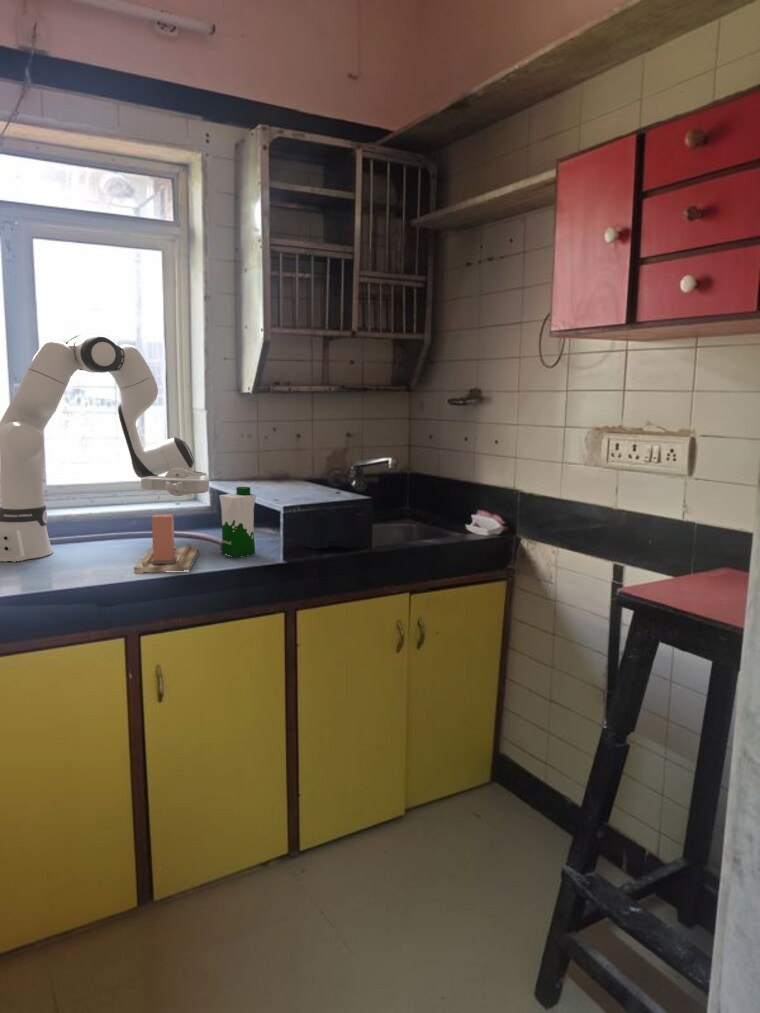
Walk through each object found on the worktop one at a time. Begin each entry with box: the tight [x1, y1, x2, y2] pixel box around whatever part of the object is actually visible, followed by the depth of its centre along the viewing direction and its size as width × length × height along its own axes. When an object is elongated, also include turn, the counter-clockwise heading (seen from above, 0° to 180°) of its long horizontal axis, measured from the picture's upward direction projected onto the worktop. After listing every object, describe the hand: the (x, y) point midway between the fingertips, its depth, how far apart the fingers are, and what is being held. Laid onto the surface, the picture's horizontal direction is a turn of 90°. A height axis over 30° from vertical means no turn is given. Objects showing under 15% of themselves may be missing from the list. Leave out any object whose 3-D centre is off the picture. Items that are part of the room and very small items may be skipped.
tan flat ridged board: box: [133, 543, 199, 574], centre depth 199 cm, size 14×24×3 cm, turn 8°
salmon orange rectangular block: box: [151, 513, 177, 564], centre depth 191 cm, size 6×5×13 cm
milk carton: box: [219, 486, 256, 558], centre depth 208 cm, size 9×9×20 cm
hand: (172, 486), depth 210 cm, fingers closed
